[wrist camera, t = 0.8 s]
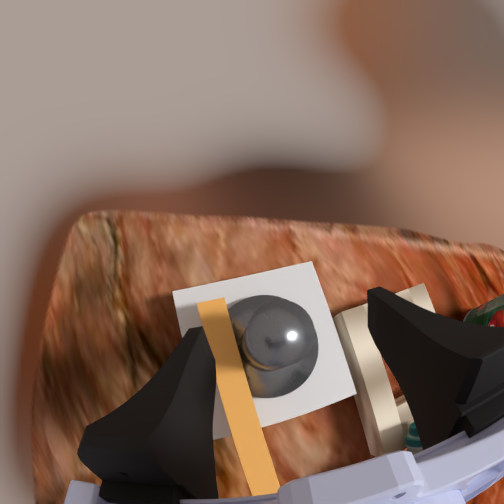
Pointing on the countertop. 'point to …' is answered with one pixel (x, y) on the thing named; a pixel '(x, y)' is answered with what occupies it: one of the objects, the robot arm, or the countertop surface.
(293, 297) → the socket block
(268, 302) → the glossy grey dome knob
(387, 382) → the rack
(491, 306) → the canned tomato
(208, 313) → the bar
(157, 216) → the countertop surface
